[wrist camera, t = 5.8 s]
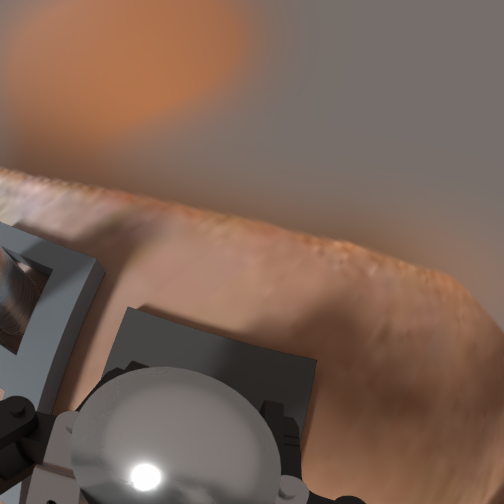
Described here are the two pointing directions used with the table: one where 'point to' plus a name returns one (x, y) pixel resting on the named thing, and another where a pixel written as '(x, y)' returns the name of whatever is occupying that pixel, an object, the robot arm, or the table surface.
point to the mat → (216, 361)
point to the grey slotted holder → (46, 325)
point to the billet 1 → (15, 296)
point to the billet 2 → (173, 442)
